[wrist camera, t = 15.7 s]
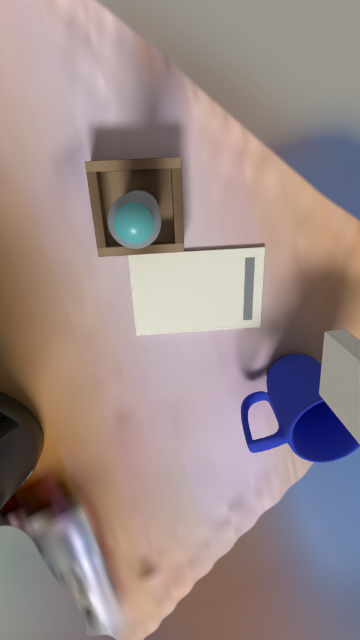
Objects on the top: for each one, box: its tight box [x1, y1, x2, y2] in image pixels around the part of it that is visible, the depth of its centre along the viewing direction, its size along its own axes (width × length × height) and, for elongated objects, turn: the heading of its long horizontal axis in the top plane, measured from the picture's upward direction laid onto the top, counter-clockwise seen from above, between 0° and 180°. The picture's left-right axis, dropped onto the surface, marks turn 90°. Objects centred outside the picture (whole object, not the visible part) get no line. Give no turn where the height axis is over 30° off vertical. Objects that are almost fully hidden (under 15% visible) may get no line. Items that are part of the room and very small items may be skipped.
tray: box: [85, 157, 184, 257], centre depth 30 cm, size 8×8×3 cm
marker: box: [108, 189, 161, 249], centre depth 25 cm, size 3×3×12 cm
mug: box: [241, 354, 360, 462], centre depth 36 cm, size 8×12×10 cm
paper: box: [128, 247, 265, 336], centre depth 35 cm, size 14×9×1 cm, turn 92°
